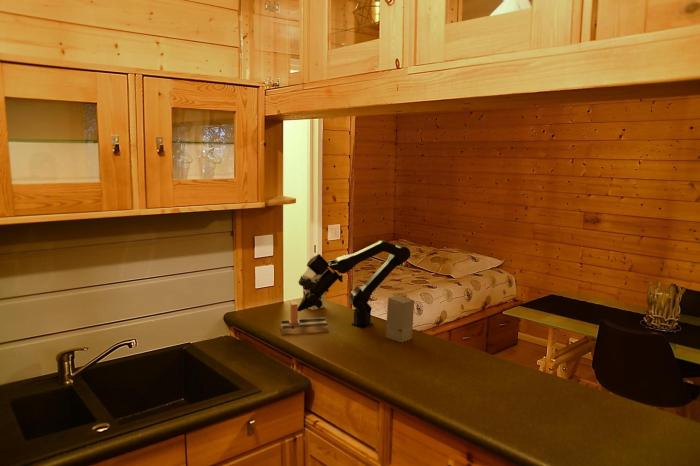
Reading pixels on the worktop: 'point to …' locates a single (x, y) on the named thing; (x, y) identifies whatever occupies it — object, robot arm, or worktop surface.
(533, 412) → the worktop surface
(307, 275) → the milk carton
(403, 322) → the skincare box
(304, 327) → the slider board
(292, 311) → the fader tab
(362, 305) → the robot arm
